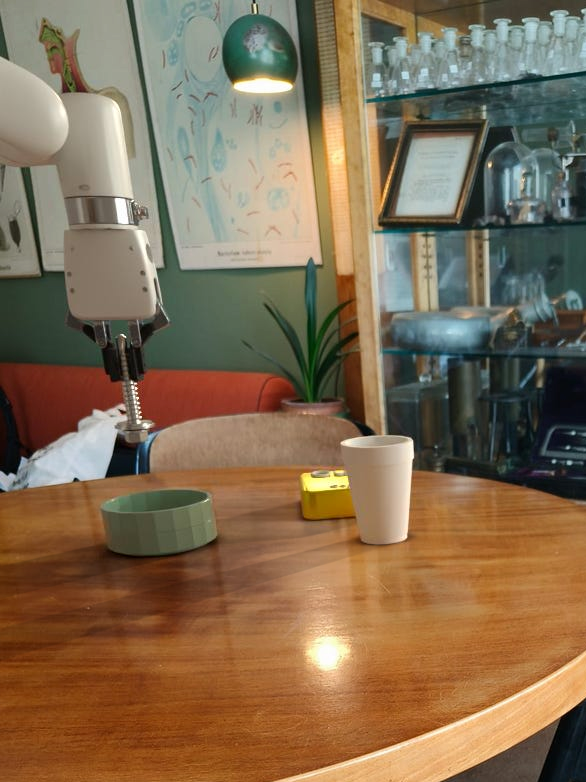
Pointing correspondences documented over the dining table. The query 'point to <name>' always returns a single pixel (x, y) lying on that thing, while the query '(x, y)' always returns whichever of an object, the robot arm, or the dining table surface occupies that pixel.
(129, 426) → the screw
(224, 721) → the dining table surface
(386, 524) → the foam cup
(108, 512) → the bowl
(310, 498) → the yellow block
